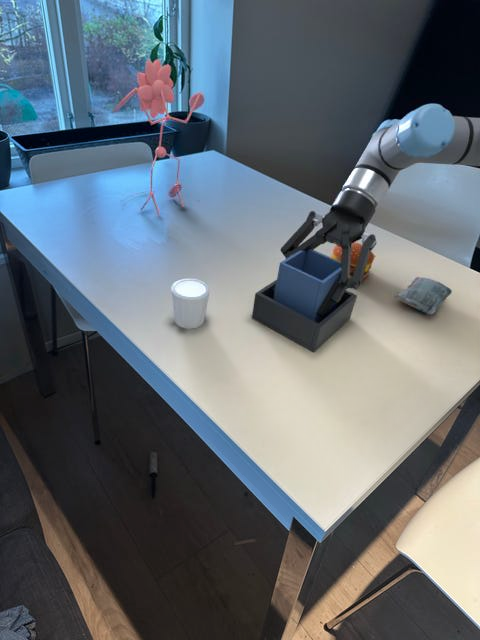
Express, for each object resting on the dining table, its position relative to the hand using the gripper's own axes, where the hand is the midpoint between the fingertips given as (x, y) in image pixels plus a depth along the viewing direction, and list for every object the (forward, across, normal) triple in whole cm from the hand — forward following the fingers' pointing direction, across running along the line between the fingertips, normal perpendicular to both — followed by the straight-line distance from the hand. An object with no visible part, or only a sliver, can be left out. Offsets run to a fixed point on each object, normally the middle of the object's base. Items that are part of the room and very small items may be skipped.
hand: (297, 303), depth 82 cm
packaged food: (-15, -15, -23) cm, 31 cm away
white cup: (+13, +15, +5) cm, 20 cm away
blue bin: (0, 0, -5) cm, 5 cm away
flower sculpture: (-9, +58, -17) cm, 61 cm away
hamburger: (-15, +2, -23) cm, 28 cm away
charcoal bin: (+1, 0, -6) cm, 6 cm away
